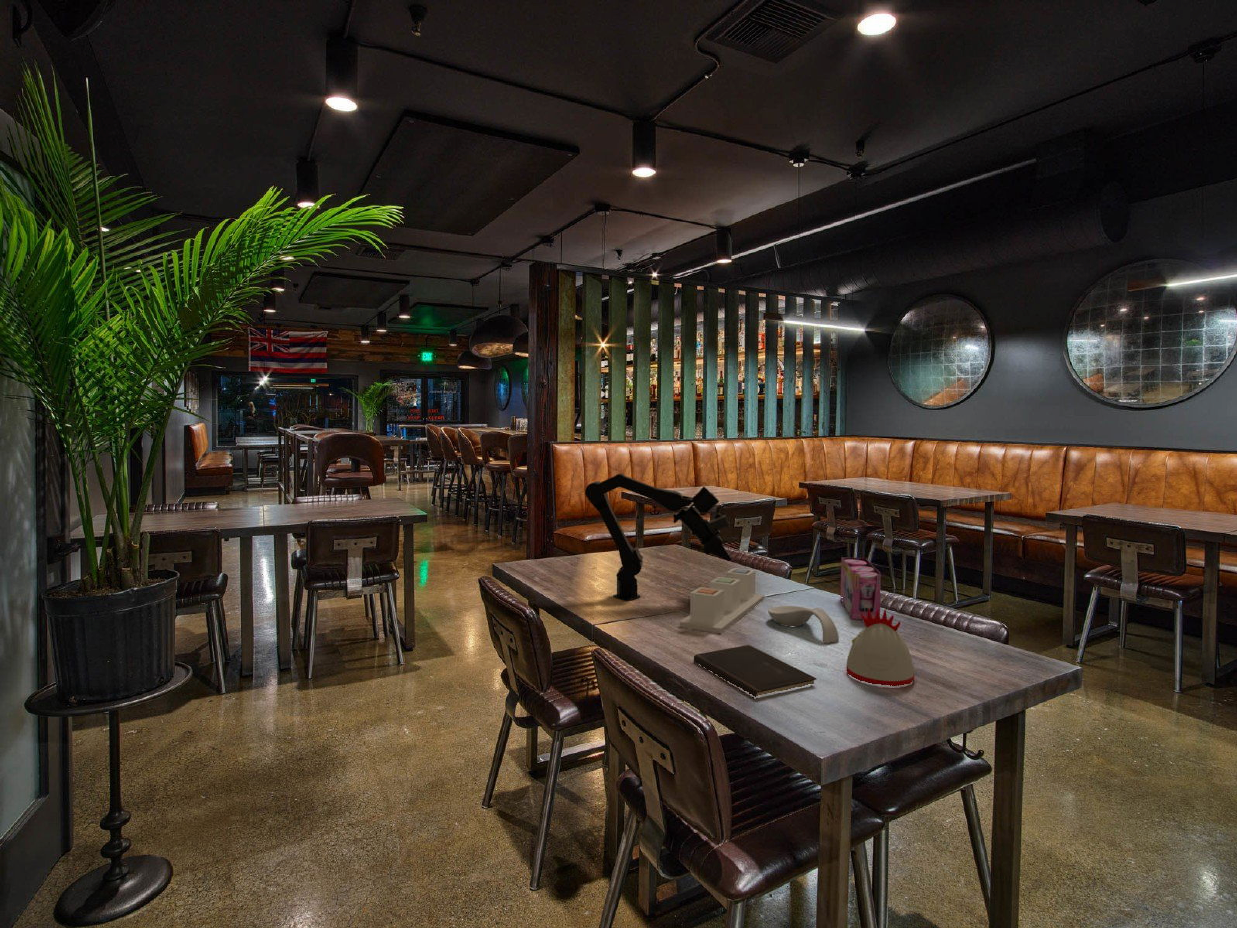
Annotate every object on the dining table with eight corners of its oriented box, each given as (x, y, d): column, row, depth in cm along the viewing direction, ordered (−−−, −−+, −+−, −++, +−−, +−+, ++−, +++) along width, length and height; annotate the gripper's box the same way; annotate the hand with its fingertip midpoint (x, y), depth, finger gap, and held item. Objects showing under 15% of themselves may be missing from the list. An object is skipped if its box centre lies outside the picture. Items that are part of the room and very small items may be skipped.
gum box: (881, 623, 180) (883, 575, 179) (852, 621, 181) (853, 573, 180) (865, 600, 203) (866, 557, 202) (839, 598, 205) (840, 556, 204)
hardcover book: (748, 653, 157) (749, 644, 157) (816, 688, 136) (816, 678, 136) (693, 664, 150) (693, 654, 150) (755, 702, 129) (755, 691, 129)
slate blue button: (732, 583, 200) (732, 571, 200) (736, 581, 203) (737, 568, 203) (745, 585, 198) (745, 572, 198) (749, 582, 201) (749, 570, 201)
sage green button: (716, 594, 188) (716, 580, 188) (721, 591, 191) (721, 577, 191) (729, 595, 186) (729, 582, 186) (733, 592, 189) (734, 579, 189)
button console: (679, 626, 175) (679, 592, 175) (727, 595, 208) (728, 566, 208) (721, 634, 169) (721, 598, 169) (764, 600, 202) (764, 570, 202)
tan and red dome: (847, 660, 151) (849, 598, 150) (912, 669, 146) (914, 604, 145) (845, 682, 138) (846, 614, 137) (915, 692, 133) (917, 621, 132)
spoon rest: (759, 620, 183) (760, 595, 182) (793, 615, 187) (794, 591, 187) (814, 646, 161) (814, 618, 160) (851, 641, 165) (852, 613, 165)
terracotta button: (697, 605, 176) (697, 591, 175) (703, 602, 179) (703, 588, 179) (711, 607, 174) (711, 593, 173) (716, 604, 177) (716, 589, 177)
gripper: (715, 510, 191) (752, 548, 190) (713, 502, 209) (747, 537, 209) (688, 535, 192) (724, 573, 192) (688, 525, 211) (721, 560, 210)
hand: (730, 560), depth 201 cm, fingers closed
